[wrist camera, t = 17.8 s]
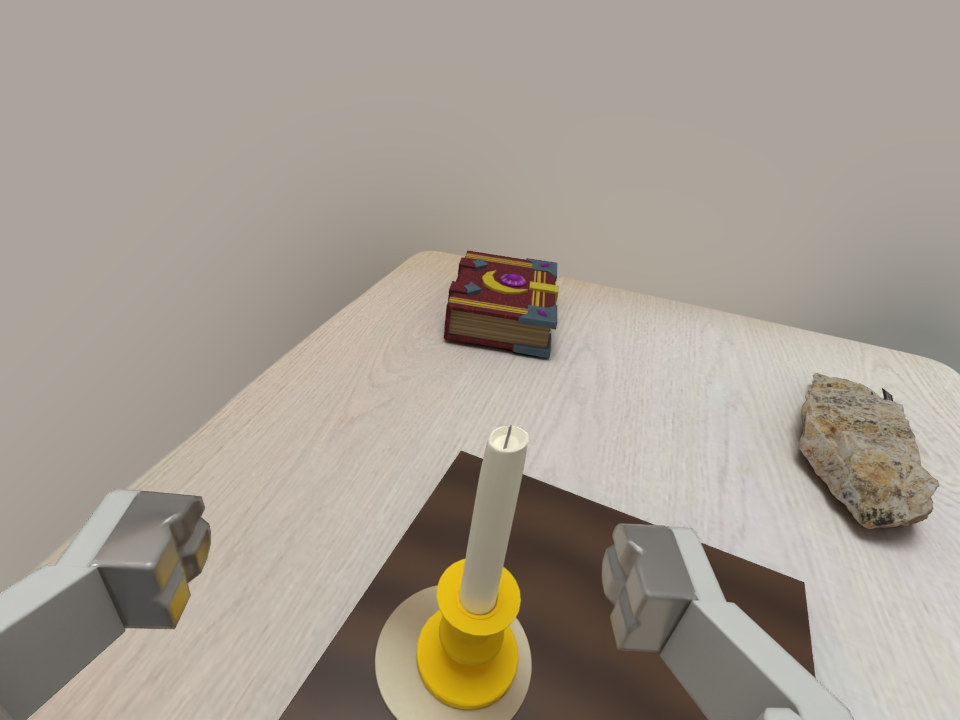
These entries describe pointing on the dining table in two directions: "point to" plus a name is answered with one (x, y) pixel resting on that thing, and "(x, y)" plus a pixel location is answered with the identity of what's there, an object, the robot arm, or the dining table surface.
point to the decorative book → (503, 303)
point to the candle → (479, 592)
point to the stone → (865, 453)
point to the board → (526, 618)
